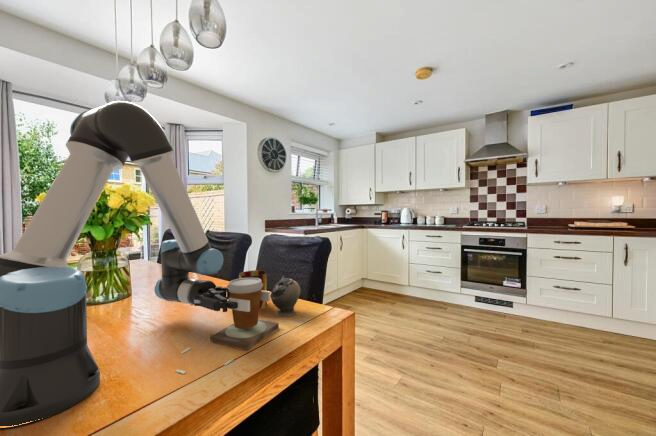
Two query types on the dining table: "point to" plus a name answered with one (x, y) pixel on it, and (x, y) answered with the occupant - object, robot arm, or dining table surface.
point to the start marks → (189, 349)
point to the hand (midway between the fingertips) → (259, 301)
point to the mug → (261, 276)
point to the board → (244, 335)
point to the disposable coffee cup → (246, 291)
